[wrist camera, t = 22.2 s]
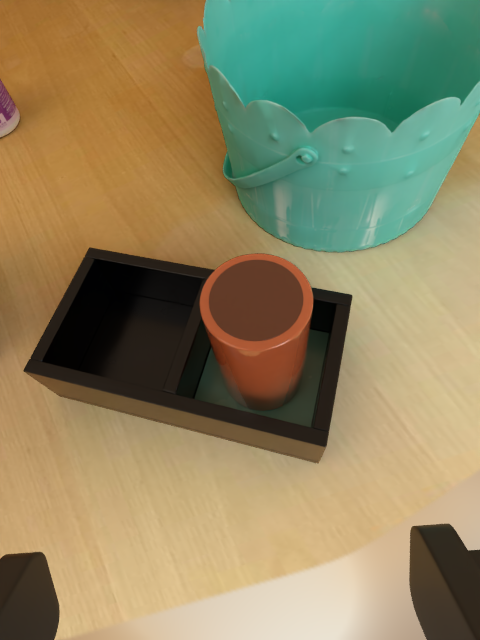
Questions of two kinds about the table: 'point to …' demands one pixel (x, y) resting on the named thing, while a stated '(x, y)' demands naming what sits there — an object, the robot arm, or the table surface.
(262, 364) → the cup
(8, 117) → the pill bottle
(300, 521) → the table surface
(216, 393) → the caddy
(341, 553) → the table surface
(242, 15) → the basket
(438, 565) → the robot arm
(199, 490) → the table surface
